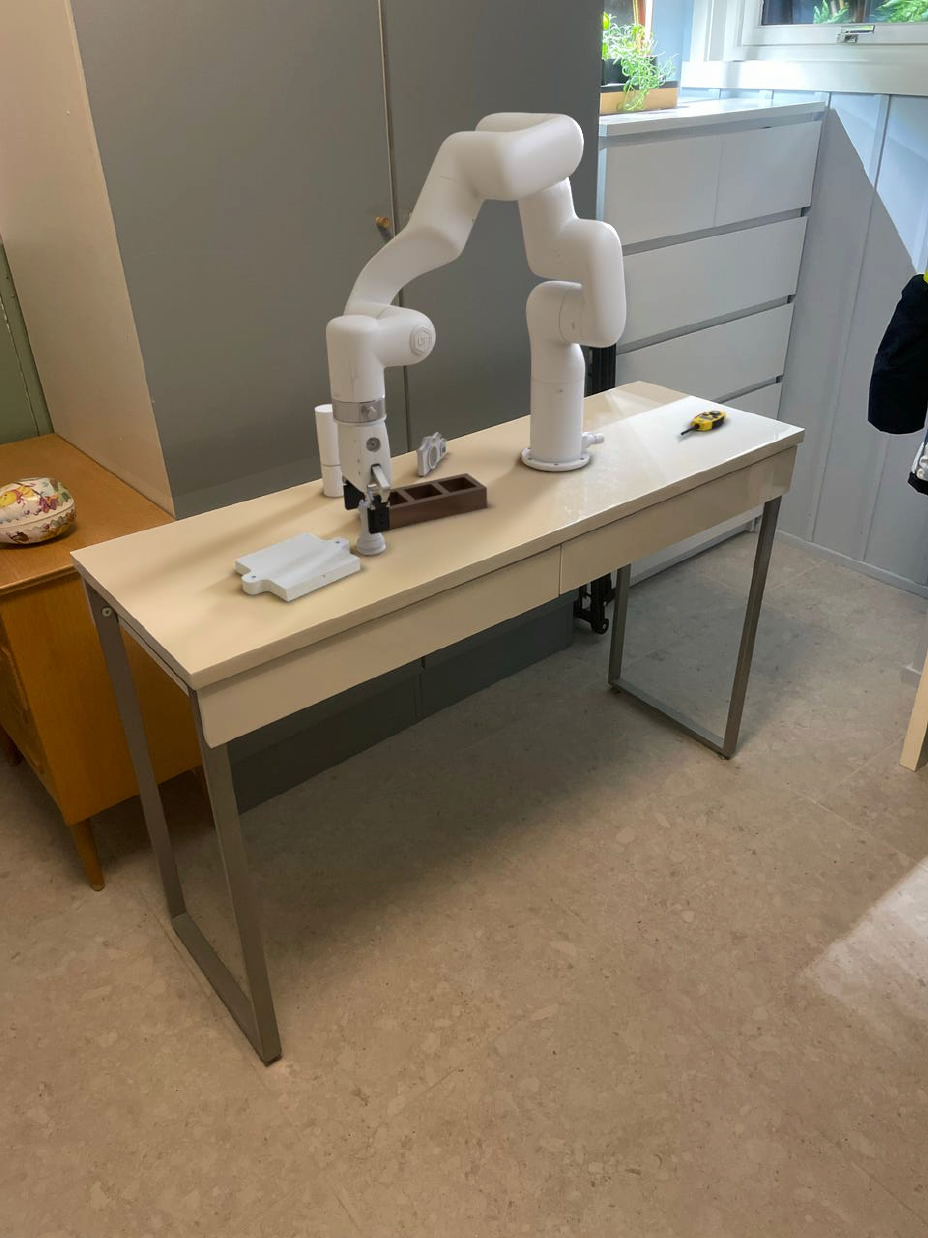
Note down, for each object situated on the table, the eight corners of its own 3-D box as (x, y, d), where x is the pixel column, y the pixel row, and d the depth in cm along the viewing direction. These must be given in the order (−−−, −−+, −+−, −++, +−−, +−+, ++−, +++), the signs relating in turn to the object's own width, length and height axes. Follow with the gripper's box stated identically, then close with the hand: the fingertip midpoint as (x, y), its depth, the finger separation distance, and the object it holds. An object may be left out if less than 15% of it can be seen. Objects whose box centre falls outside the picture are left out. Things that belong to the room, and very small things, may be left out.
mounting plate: (272, 608, 127) (270, 596, 126) (221, 577, 135) (219, 565, 134) (373, 563, 138) (372, 552, 137) (321, 537, 146) (319, 526, 145)
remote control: (731, 411, 187) (692, 431, 178) (730, 421, 188) (691, 440, 179) (710, 407, 190) (670, 425, 181) (709, 416, 191) (669, 435, 182)
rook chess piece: (373, 540, 145) (369, 493, 140) (392, 549, 142) (388, 501, 138) (351, 550, 142) (346, 502, 138) (369, 559, 139) (365, 510, 135)
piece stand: (360, 515, 153) (358, 495, 151) (467, 491, 160) (466, 472, 158) (377, 532, 147) (375, 512, 145) (487, 507, 155) (487, 487, 153)
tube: (344, 497, 159) (336, 412, 152) (320, 496, 160) (311, 411, 152) (351, 487, 163) (344, 404, 155) (328, 486, 164) (319, 403, 156)
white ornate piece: (439, 453, 176) (438, 423, 173) (448, 454, 176) (447, 424, 173) (416, 476, 167) (414, 445, 164) (425, 477, 166) (424, 446, 163)
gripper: (408, 421, 125) (413, 536, 134) (361, 388, 138) (369, 495, 147) (356, 430, 122) (364, 547, 131) (313, 395, 136) (324, 504, 144)
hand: (367, 519), depth 139 cm, fingers open, 9 cm apart
